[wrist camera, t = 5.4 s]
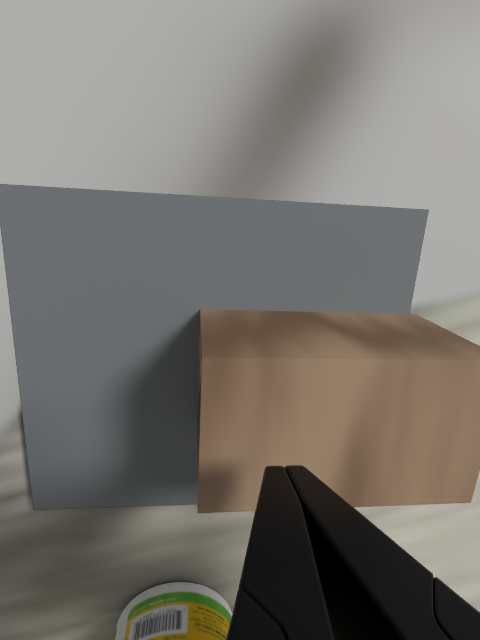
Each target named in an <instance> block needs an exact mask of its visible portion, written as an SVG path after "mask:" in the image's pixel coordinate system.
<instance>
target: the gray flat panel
mask: <svg viewBox="0 0 480 640" xmlns="http://www.w3.org/2000/svg"><path fill="white" fill-rule="evenodd" d="M428 211H429V210H424V209H407V208H390V207H374V206H357V205H341V204H324V203H307V202H290V201H274V200H257V199H239V198H224V197H207V196H190V195H173V194H156V193H140V192H124V191H123V192H122V191H107V190H91V189H74V188H58V187H57V188H56V187H40V186H24V185H7V184H0V226H1V235H2V244H3V252H4V261H5V269H6V278H7V286H8V294H9V304H10V313H11V321H12V330H13V338H14V347H15V355H16V364H17V373H18V382H19V390H20V399H21V408H22V416H23V425H24V433H25V442H26V451H27V459H28V468H29V477H30V485H31V494H32V503H33V510H48V509H77V508H105V507H134V506H162V505H191V504H198V478H197V413H198V375H199V337H200V309H218V310H258V311H299V312H340V313H380V314H410V308H411V303H412V297H413V292H414V287H415V281H416V276H417V270H418V265H419V260H420V254H421V249H422V243H423V238H424V233H425V227H426V222H427V216H428Z"/></svg>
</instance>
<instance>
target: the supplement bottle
mask: <svg viewBox="0 0 480 640" xmlns="http://www.w3.org/2000/svg"><path fill="white" fill-rule="evenodd" d="M231 618H232V612H231V609H230V607H229V605H228V604H227V602H226V601H225V599H224V598H223V597H222V596H221V595H219V594H218V593H217V592H215V591H214V590H212V589H210V588H208V587H206V586H203V585H200V584H196V583H190V582H173V583H166V584H161V585H158V586H155V587H152V588H150V589H147V590H146V591H144V592H142V593H140V594H139V595H137V596H136V597H135V598H134V599H133V600H132V601H131V602H130V603H129V604H128V605H127V606H126V607H125V609H124V610H123V612H122V614H121V615H120V618H119V620H118V623H117V626H116V631H115V635H114V640H226V637H227V633H228V630H229V626H230V622H231Z"/></svg>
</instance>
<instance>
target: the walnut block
mask: <svg viewBox="0 0 480 640" xmlns="http://www.w3.org/2000/svg"><path fill="white" fill-rule="evenodd" d="M287 465H302V466H304V467H306V468H307V469H308V470H309V471H310V472H312V473H313V474H314V475H315V476H316V477H318V478H319V479H320V480H321V481H322V482H324V483H325V484H326V485H327V486H328V487H330V488H331V489H332V490H333V491H334V492H336V493H337V494H338V495H339V496H340V497H341V498H343V499H344V500H345V501H346V502H347V503H349V504H350V505H351V506H352V507H370V506H396V505H422V504H449V503H471V500H472V496H473V493H474V489H475V485H476V481H477V478H478V474H479V470H480V346H478V345H476V344H474V343H472V342H470V341H468V340H466V339H464V338H462V337H460V336H458V335H456V334H454V333H452V332H450V331H448V330H446V329H444V328H442V327H440V326H438V325H436V324H434V323H432V322H430V321H428V320H426V319H424V318H422V317H420V316H418V315H416V314H380V313H340V312H299V311H258V310H218V309H200V337H199V375H198V413H197V478H198V513H213V512H239V511H256V506H257V502H258V497H259V492H260V488H261V483H262V479H263V474H264V470H265V467H266V466H283V467H285V466H287Z"/></svg>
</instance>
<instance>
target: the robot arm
mask: <svg viewBox="0 0 480 640" xmlns="http://www.w3.org/2000/svg"><path fill="white" fill-rule="evenodd" d="M226 640H480V612H479V611H477V610H476V609H475V608H474V607H472V606H471V605H470V604H469V603H467V602H466V601H465V600H464V599H463V598H461V597H460V596H459V595H458V594H456V593H455V592H454V591H453V590H452V589H450V588H449V587H448V586H447V585H446V584H444V583H443V582H442V581H441V580H440V579H438V578H437V577H435V578H433V574H432V573H431V572H430V571H429V570H427V569H426V568H425V567H424V566H423V565H421V564H420V563H419V562H418V561H417V560H415V559H414V558H413V557H412V556H411V555H410V554H408V553H407V552H406V551H405V550H404V549H402V548H401V547H400V546H399V545H398V544H396V543H395V542H394V541H393V540H392V539H390V538H389V537H388V536H387V535H386V534H384V533H383V532H382V531H381V530H380V529H378V528H377V527H376V526H375V525H374V524H373V523H371V522H370V521H369V520H368V519H367V518H365V517H364V516H363V515H362V514H361V513H359V512H358V511H357V510H356V509H355V508H353V507H352V506H351V505H350V504H349V503H347V502H346V501H345V500H344V499H343V498H341V497H340V496H339V495H338V494H337V493H336V492H334V491H333V490H332V489H331V488H330V487H328V486H327V485H326V484H325V483H324V482H322V481H321V480H320V479H319V478H318V477H316V476H315V475H314V474H313V473H312V472H310V471H309V470H308V469H307V468H306V467H304V466H302V465H287V466H285V467H283V466H266V467H265V470H264V474H263V479H262V483H261V488H260V492H259V497H258V502H257V506H256V511H255V515H254V520H253V524H252V529H251V534H250V538H249V543H248V547H247V552H246V556H245V561H244V566H243V570H242V575H241V579H240V584H239V590H238V592H237V596H236V601H235V606H234V610H233V614H232V618H231V622H230V626H229V630H228V633H227V637H226Z"/></svg>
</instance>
